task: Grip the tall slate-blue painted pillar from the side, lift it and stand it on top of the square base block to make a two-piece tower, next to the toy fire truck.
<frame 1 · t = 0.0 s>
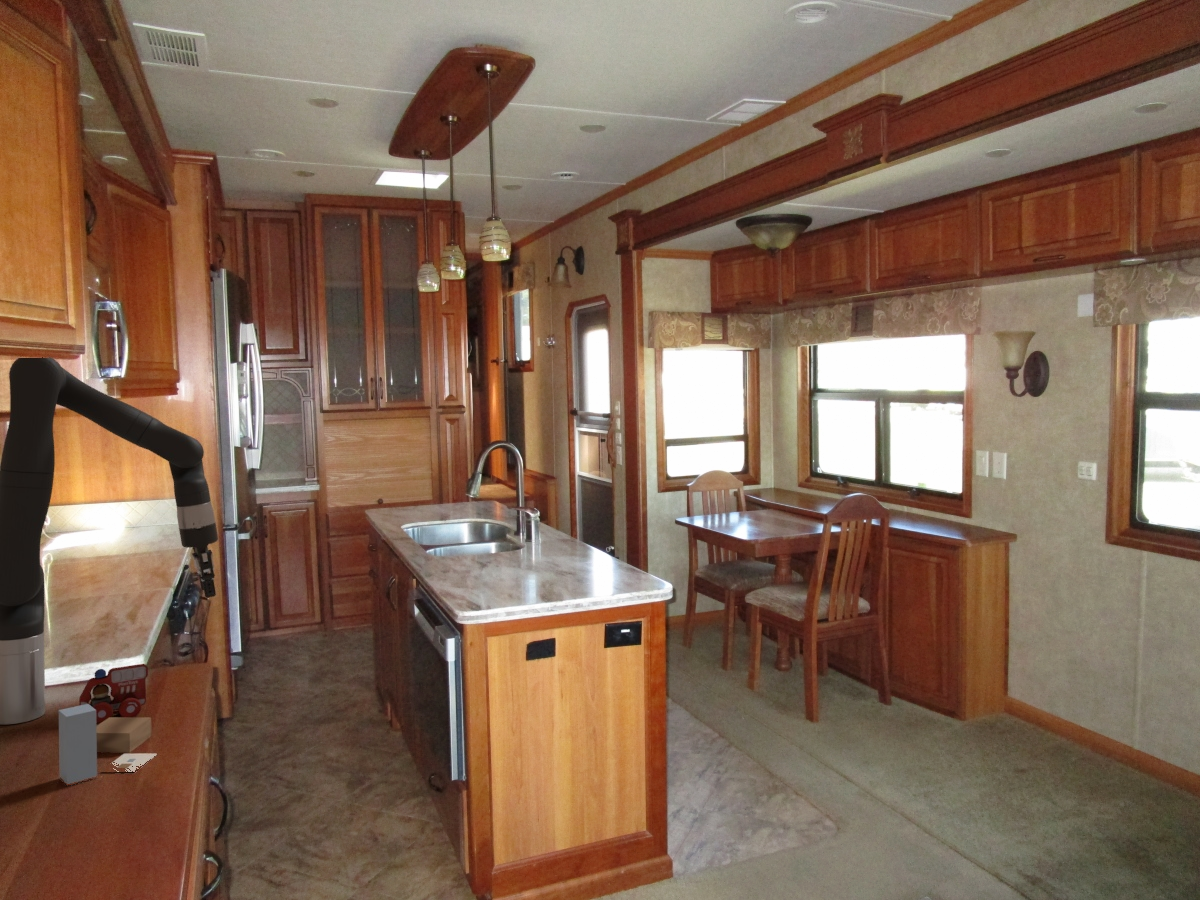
hand: (208, 593, 189), 22 cm above the worktop, tool pointing down, fingers open, 8 cm apart
instruction page: (129, 763, 150), on the worktop
base block: (119, 745, 159), on the worktop
toy fire truck: (114, 717, 174), on the worktop
pillar: (78, 778, 144), on the worktop
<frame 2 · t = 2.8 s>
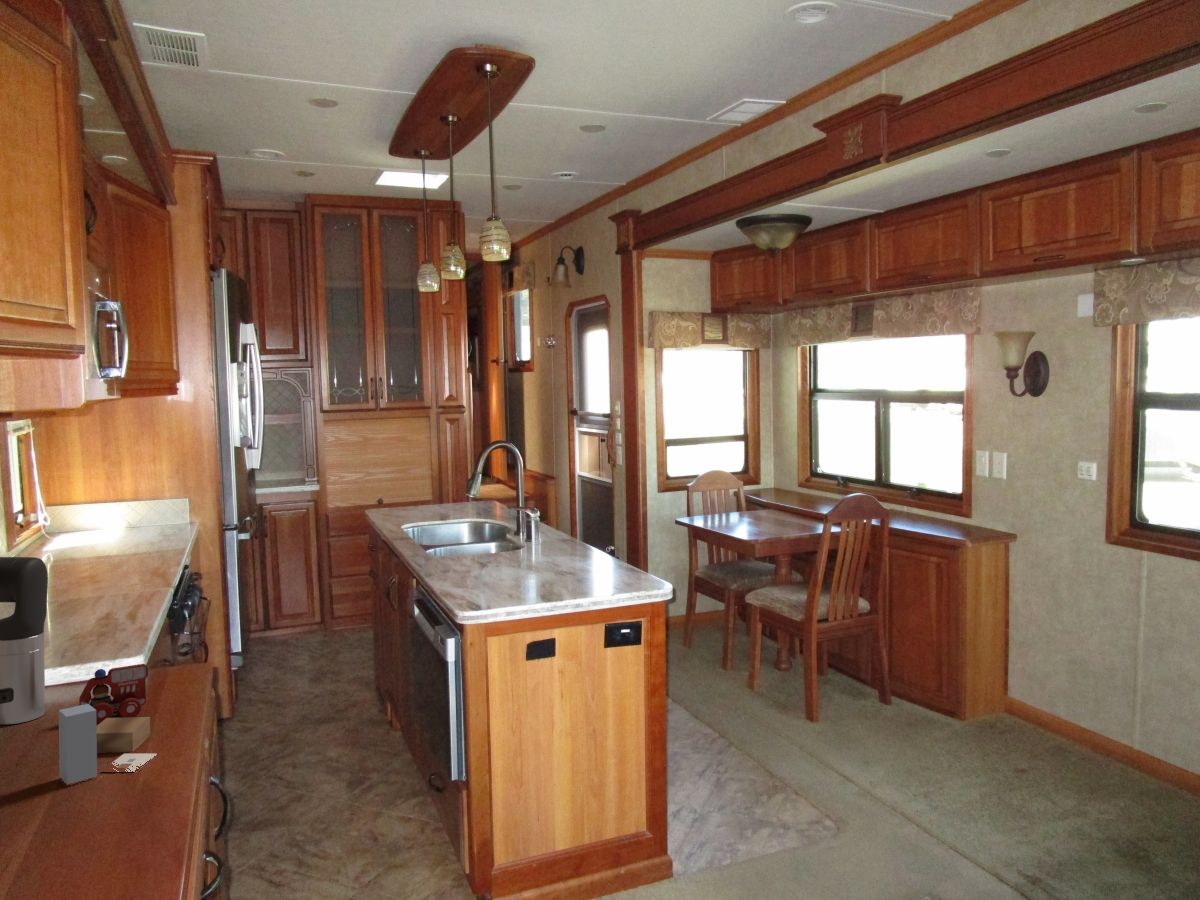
hand: (5, 688, 136), 18 cm above the worktop, tool horizontal, fingers open, 8 cm apart
nothing on the worktop moved.
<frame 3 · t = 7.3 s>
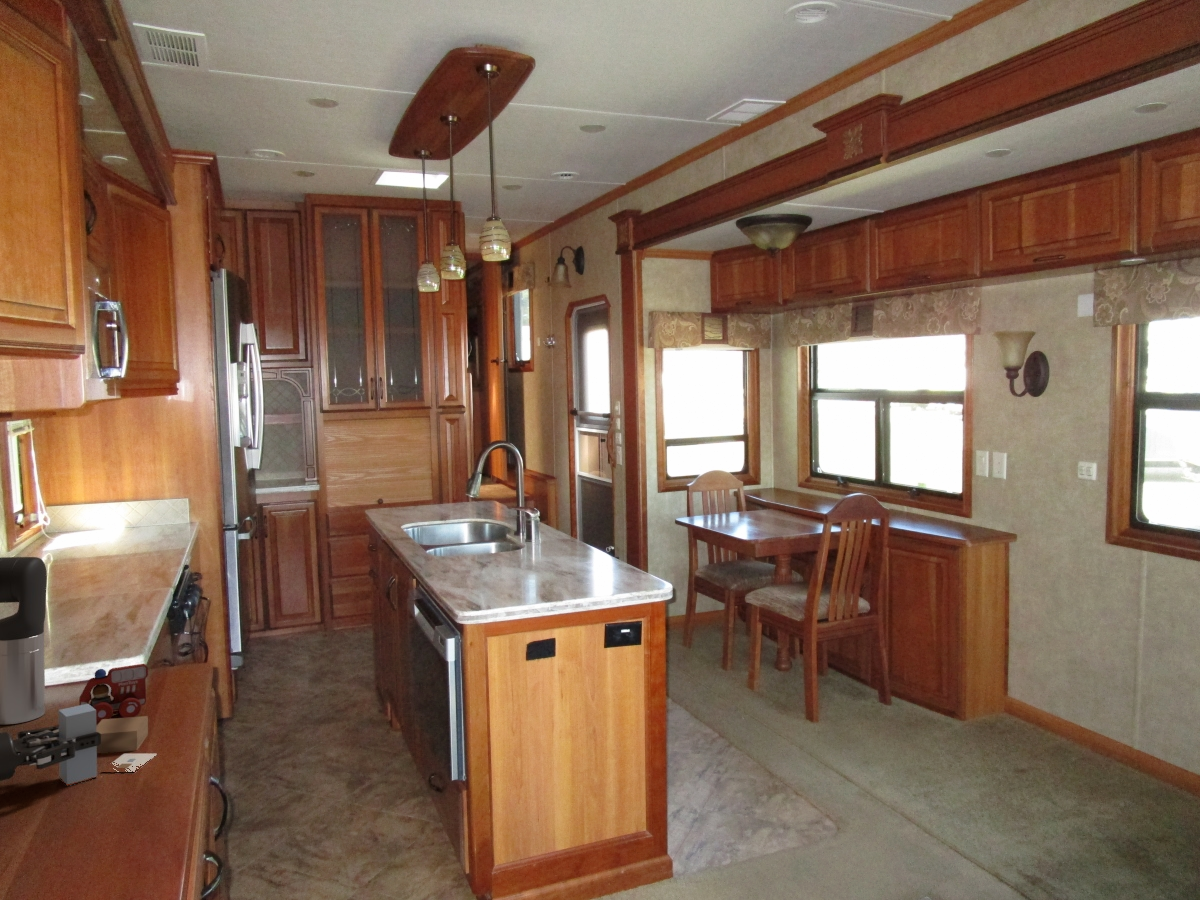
hand: (95, 734, 146), 7 cm above the worktop, tool horizontal, fingers closed on pillar, 4 cm apart
pillar: (78, 778, 144), on the worktop, touching gripper
everything else where it was.
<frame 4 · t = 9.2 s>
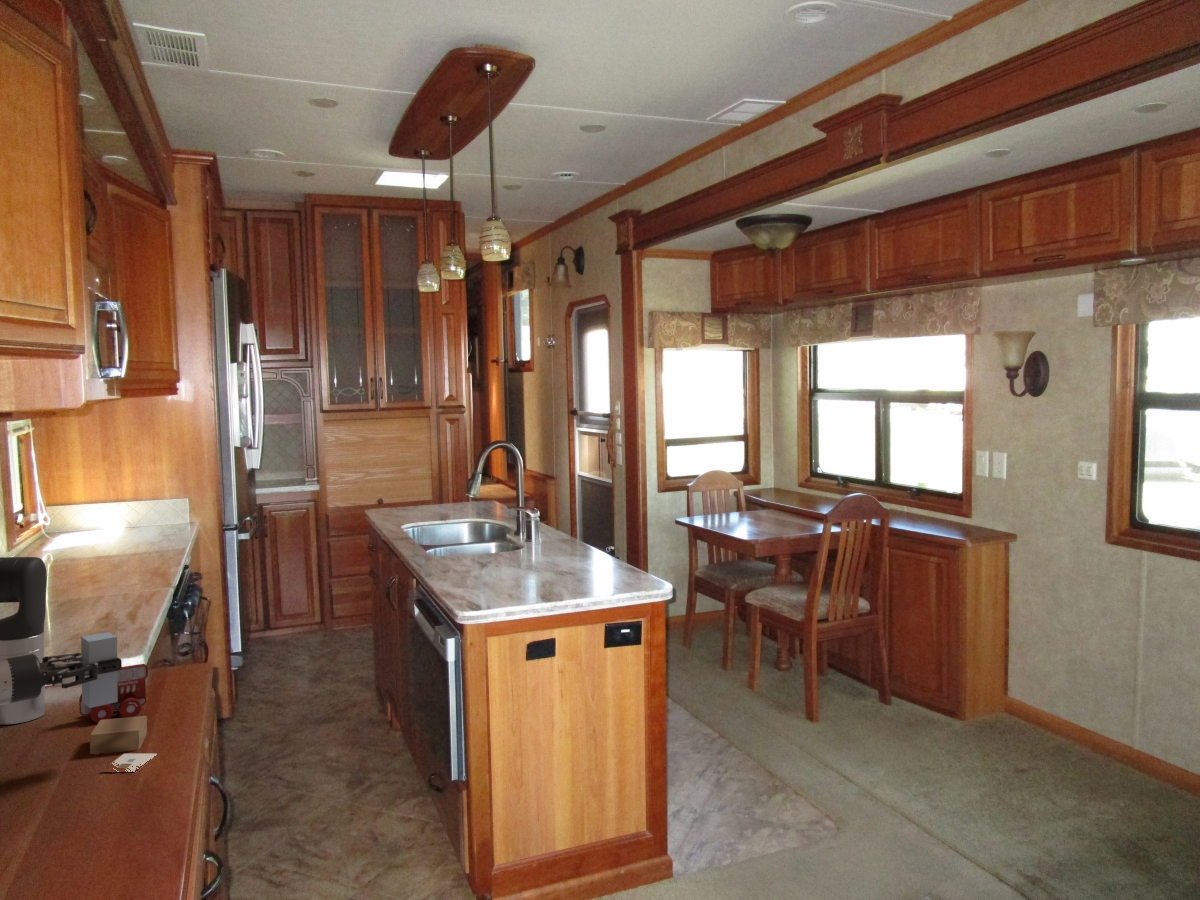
hand: (115, 660, 153), 18 cm above the worktop, tool horizontal, fingers closed on pillar, 4 cm apart
pillar: (99, 701, 151), point 11 cm above the worktop, touching gripper
everything else where it was.
when the fingers open (12 cm above the worktop, at t = 11.5 s): pillar drops 1 cm, resting on base block.
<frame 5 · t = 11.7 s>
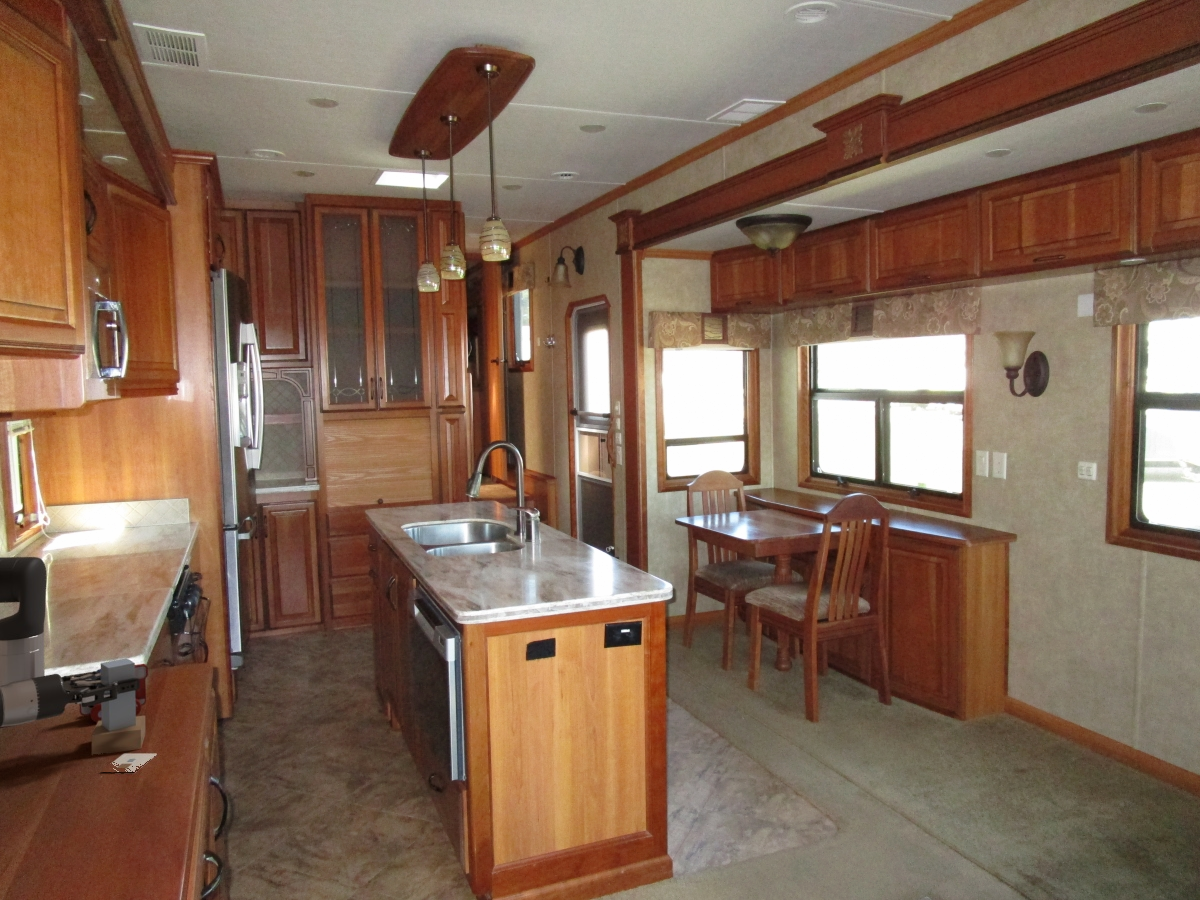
hand: (132, 679, 160), 12 cm above the worktop, tool horizontal, fingers open, 6 cm apart
base block: (119, 745, 159), on the worktop, touching pillar
pillar: (118, 725, 159), point 4 cm above the worktop, touching base block
everything else where it was.
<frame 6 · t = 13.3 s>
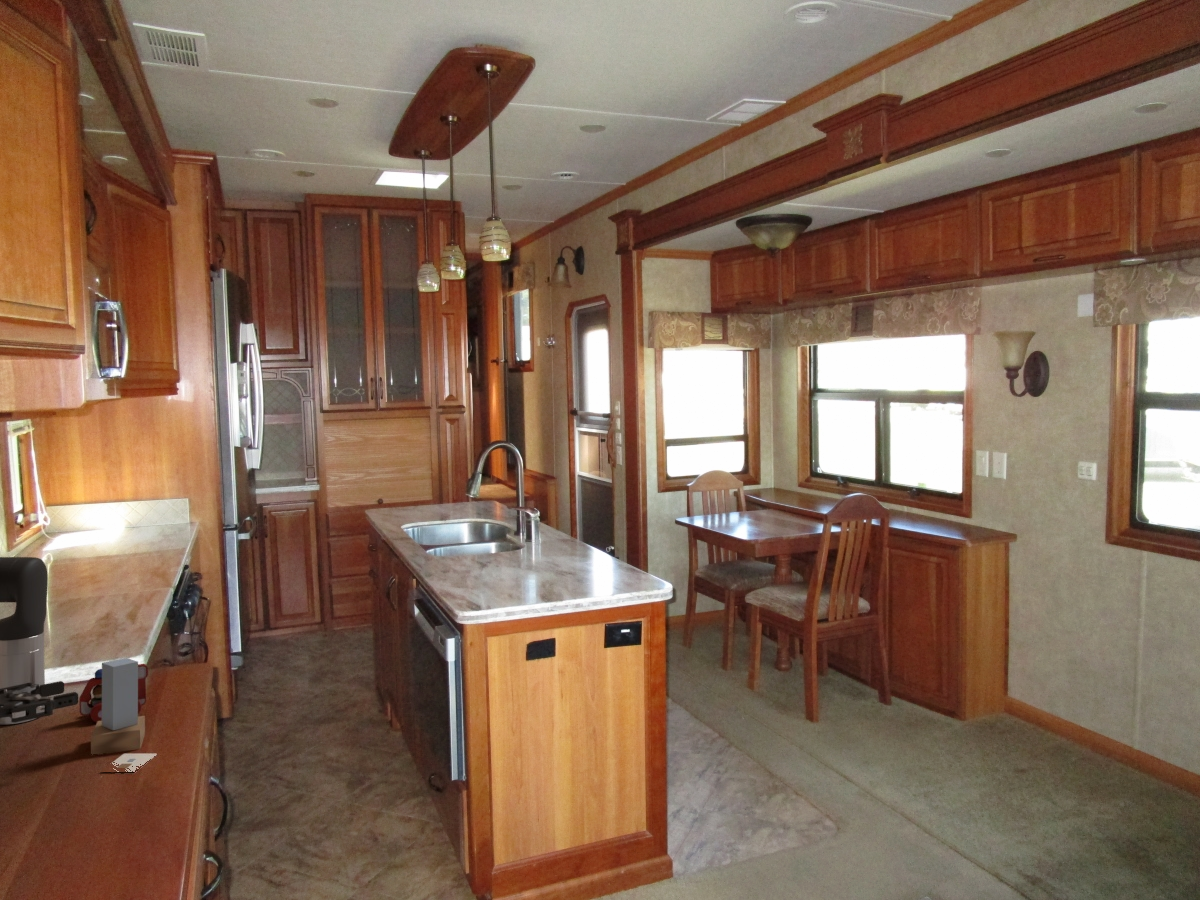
hand: (70, 692, 153), 12 cm above the worktop, tool horizontal, fingers open, 8 cm apart
base block: (118, 746, 159), on the worktop
pillar: (119, 724, 159), point 4 cm above the worktop
everything else where it was.
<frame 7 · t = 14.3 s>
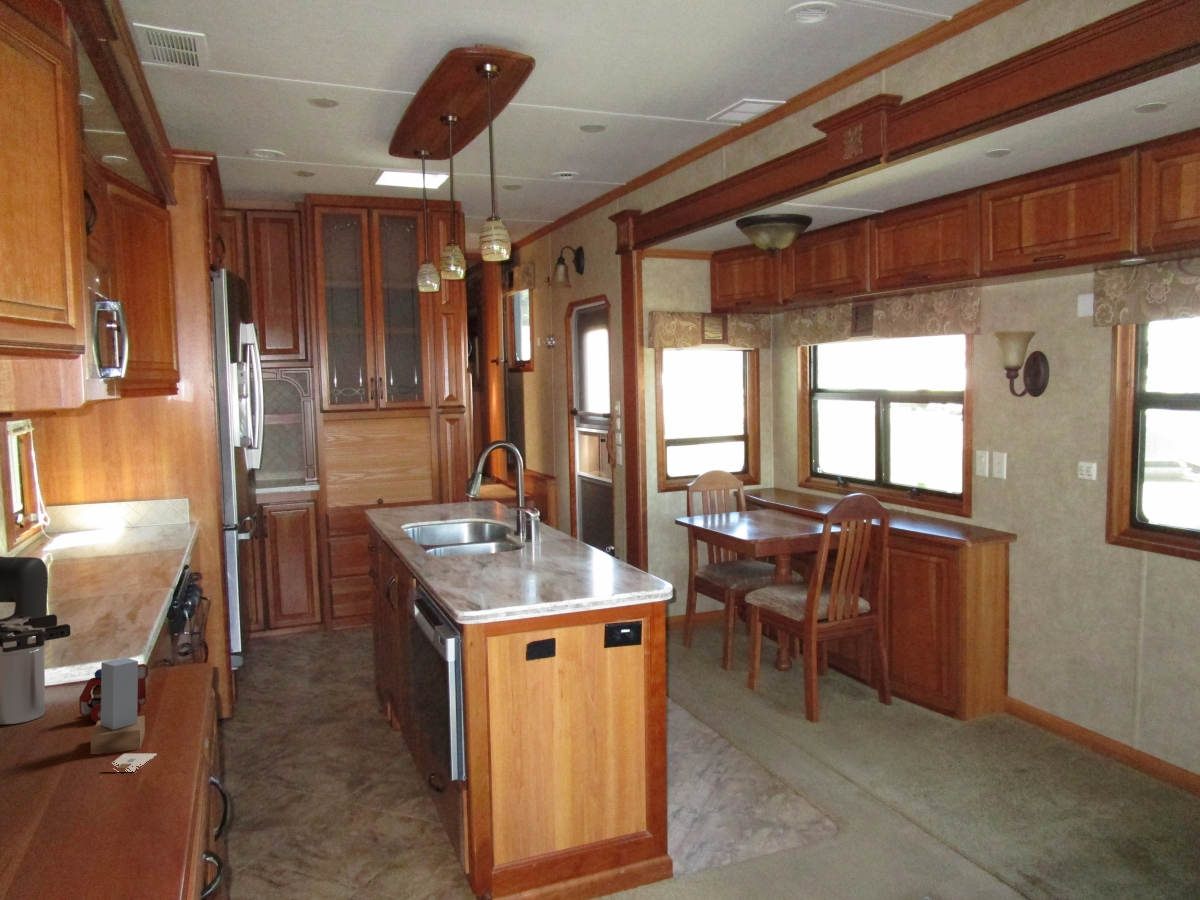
hand: (63, 624, 152), 24 cm above the worktop, tool horizontal, fingers open, 8 cm apart
base block: (118, 745, 159), on the worktop, touching pillar
pillar: (119, 724, 159), point 4 cm above the worktop, touching base block
everything else where it was.
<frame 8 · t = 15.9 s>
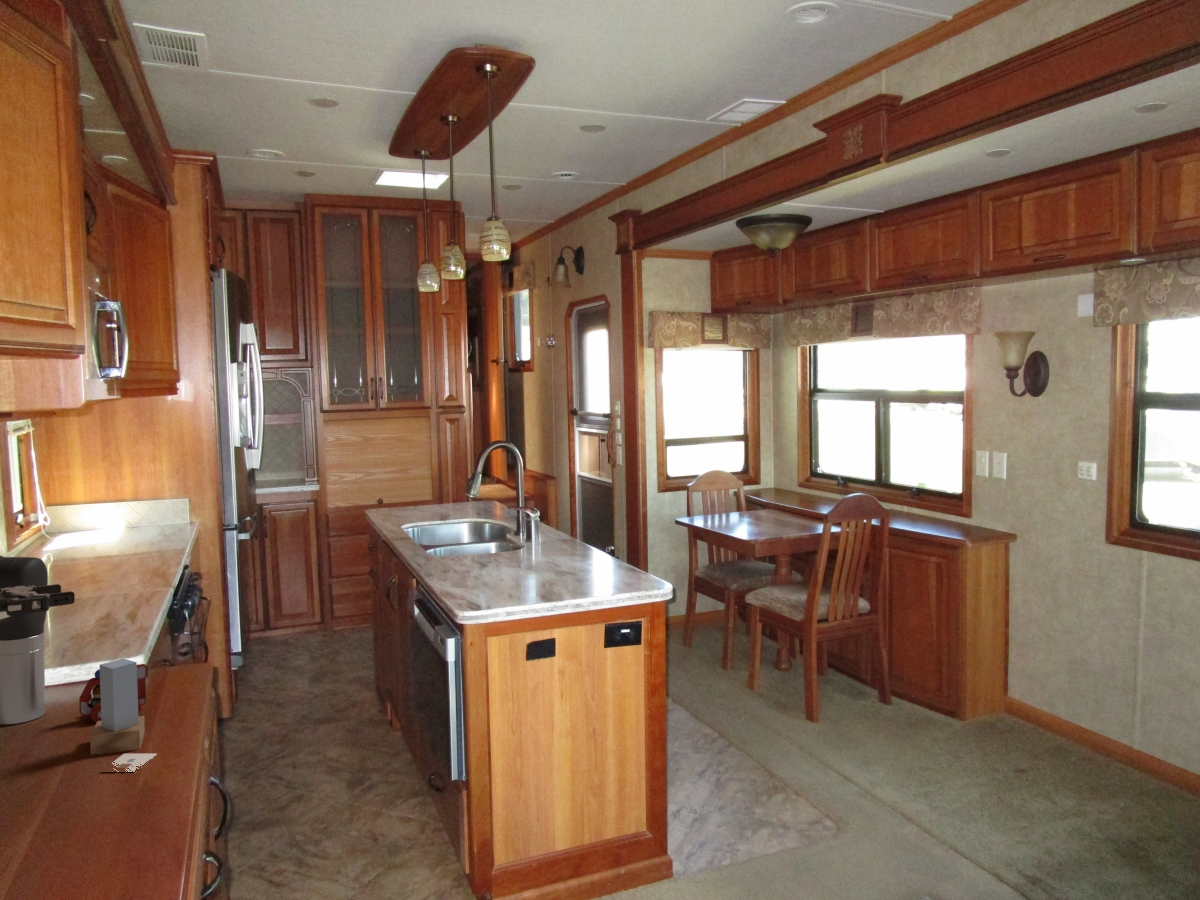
hand: (67, 593, 153), 30 cm above the worktop, tool horizontal, fingers open, 8 cm apart
at the end: pillar inside the target area on the base block (0.2 cm from its centre), point 4.2 cm above the base block's base; pillar tilted 3°; the gripper is holding nothing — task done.
